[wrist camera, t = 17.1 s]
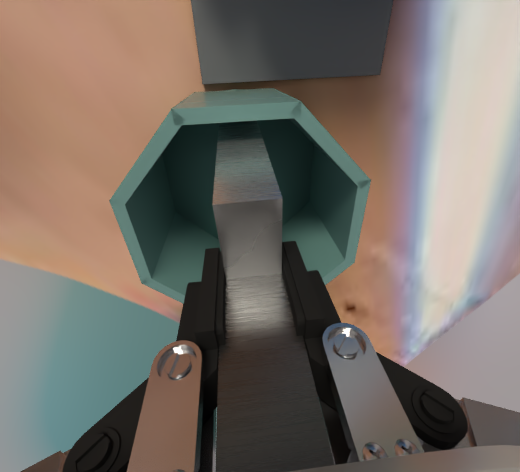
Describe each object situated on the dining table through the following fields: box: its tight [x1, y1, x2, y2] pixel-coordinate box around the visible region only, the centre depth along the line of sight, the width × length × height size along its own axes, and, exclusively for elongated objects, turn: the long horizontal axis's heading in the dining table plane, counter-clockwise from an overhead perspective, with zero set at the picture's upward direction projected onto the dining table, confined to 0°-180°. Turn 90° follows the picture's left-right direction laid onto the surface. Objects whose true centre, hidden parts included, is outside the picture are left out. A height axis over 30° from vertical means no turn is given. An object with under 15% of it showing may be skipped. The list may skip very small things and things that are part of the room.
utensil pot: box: [109, 88, 371, 304], centre depth 17 cm, size 12×12×9 cm
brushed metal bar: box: [212, 121, 335, 472], centre depth 11 cm, size 2×9×18 cm, turn 4°
